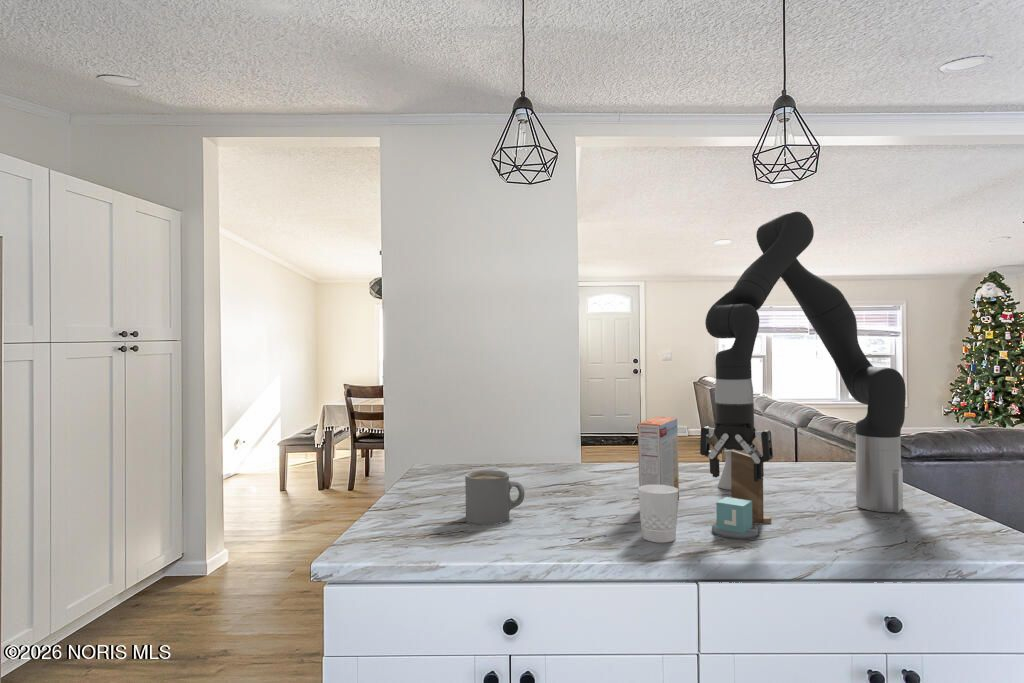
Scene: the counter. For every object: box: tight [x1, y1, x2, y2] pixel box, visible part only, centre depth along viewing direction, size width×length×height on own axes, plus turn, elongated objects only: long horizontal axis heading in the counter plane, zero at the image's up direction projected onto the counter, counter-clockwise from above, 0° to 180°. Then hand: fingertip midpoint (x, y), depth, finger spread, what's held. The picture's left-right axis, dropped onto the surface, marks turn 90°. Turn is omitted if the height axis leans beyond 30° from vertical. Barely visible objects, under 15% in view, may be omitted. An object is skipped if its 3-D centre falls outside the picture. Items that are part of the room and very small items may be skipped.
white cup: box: [638, 485, 679, 544], centre depth 129 cm, size 8×8×10 cm
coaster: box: [711, 522, 759, 540], centre depth 132 cm, size 9×9×1 cm
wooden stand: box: [730, 450, 772, 525], centre depth 144 cm, size 5×11×14 cm, turn 11°
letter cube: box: [715, 496, 753, 534], centre depth 132 cm, size 6×6×6 cm
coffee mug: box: [464, 469, 525, 525], centre depth 145 cm, size 13×10×10 cm
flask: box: [717, 449, 735, 491], centre depth 172 cm, size 7×7×10 cm
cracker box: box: [637, 416, 680, 502], centre depth 154 cm, size 14×6×21 cm, turn 149°
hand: (736, 478), depth 132 cm, fingers open, 8 cm apart
